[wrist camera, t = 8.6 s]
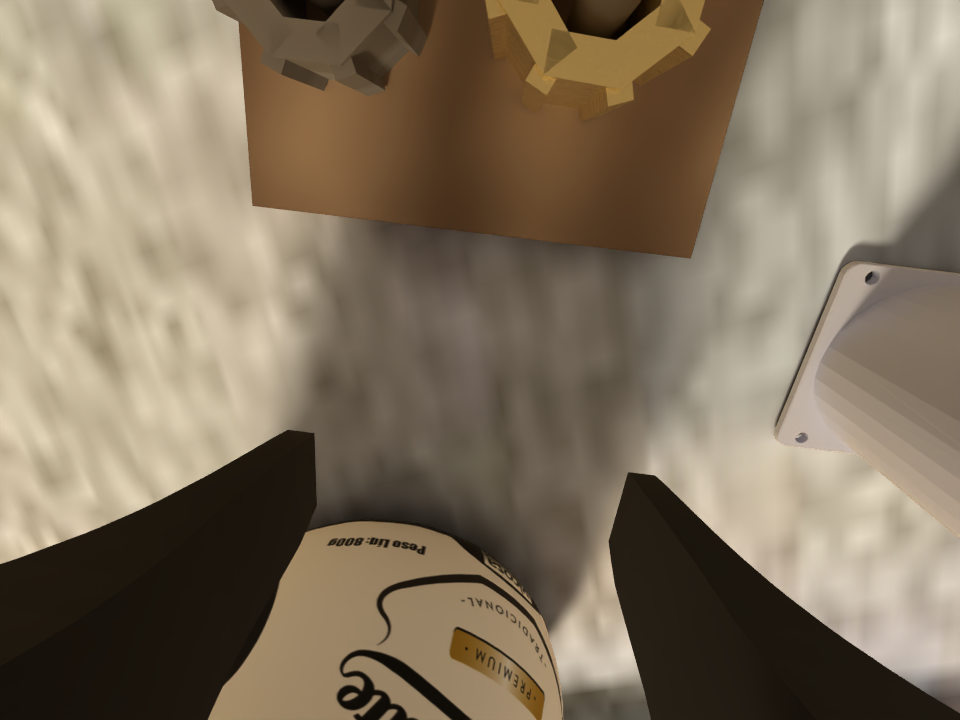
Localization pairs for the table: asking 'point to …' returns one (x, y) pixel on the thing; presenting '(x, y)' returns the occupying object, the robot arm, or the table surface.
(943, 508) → the robot arm
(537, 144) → the gear board
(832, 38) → the table surface
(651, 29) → the brass gear
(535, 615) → the milk container
